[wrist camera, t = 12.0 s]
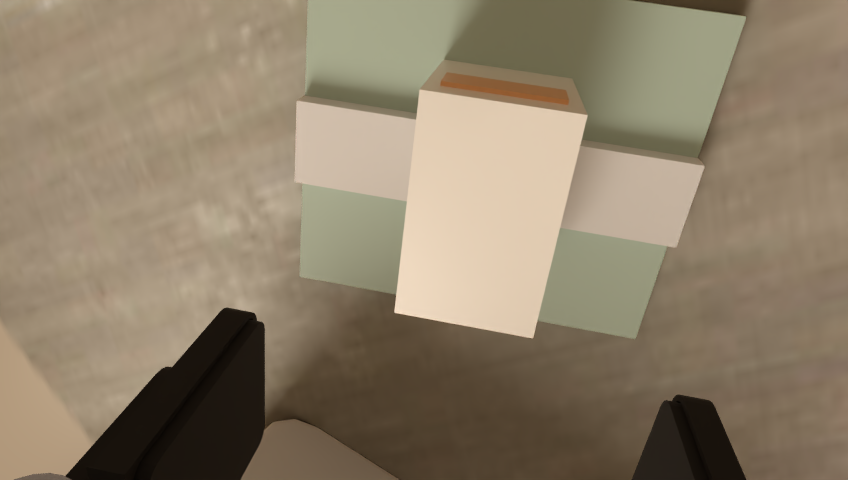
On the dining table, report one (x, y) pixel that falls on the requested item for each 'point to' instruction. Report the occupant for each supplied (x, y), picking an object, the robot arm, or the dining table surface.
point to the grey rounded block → (308, 456)
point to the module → (487, 195)
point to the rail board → (531, 52)
